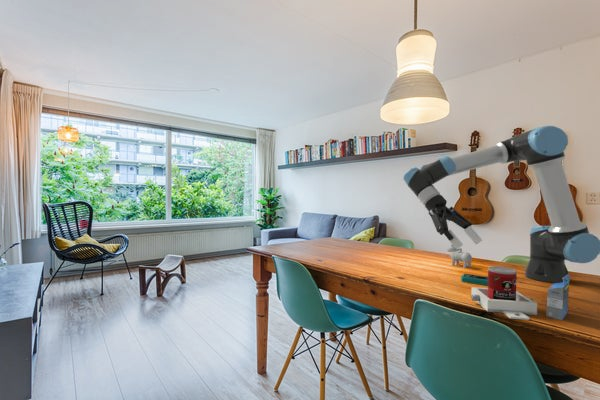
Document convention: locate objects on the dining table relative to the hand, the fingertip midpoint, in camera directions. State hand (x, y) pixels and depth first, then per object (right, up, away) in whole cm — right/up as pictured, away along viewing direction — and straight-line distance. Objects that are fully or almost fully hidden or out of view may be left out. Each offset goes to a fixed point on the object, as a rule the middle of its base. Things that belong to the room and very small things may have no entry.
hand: (469, 244), depth 106 cm
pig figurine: (+21, -18, +47) cm, 55 cm away
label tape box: (+17, -19, -17) cm, 30 cm away
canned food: (+5, -18, -9) cm, 21 cm away
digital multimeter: (+15, -19, +16) cm, 29 cm away
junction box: (+5, -18, -9) cm, 21 cm away
